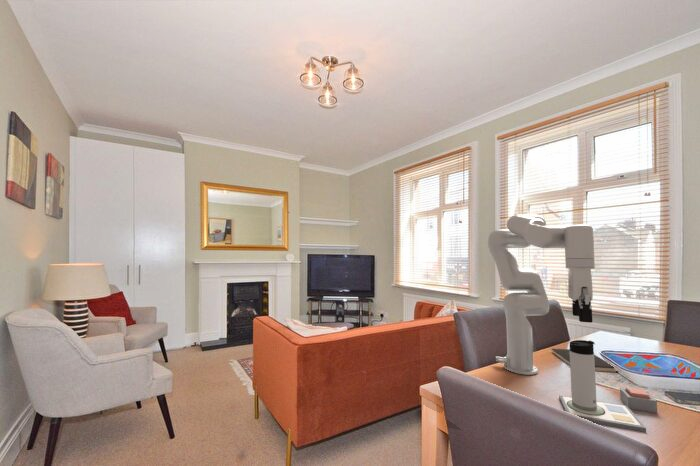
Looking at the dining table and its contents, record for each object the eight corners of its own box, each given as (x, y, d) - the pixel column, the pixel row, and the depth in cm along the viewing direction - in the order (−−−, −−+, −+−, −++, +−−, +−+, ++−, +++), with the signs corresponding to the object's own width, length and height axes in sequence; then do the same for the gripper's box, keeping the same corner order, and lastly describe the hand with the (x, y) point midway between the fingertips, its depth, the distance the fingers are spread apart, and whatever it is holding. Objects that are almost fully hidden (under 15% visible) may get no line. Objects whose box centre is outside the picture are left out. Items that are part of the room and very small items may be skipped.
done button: (631, 399, 102) (631, 392, 102) (626, 393, 106) (626, 387, 106) (649, 401, 100) (649, 395, 101) (643, 395, 104) (643, 389, 105)
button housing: (628, 408, 101) (627, 396, 102) (620, 398, 108) (619, 388, 108) (657, 412, 99) (656, 401, 99) (647, 402, 105) (646, 391, 105)
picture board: (568, 418, 96) (567, 413, 96) (559, 398, 109) (559, 394, 109) (646, 431, 88) (645, 427, 88) (626, 408, 101) (626, 404, 101)
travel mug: (602, 412, 96) (599, 344, 98) (577, 410, 98) (574, 343, 99) (591, 402, 102) (588, 338, 104) (568, 401, 104) (565, 337, 105)
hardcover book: (574, 370, 134) (574, 365, 134) (551, 353, 157) (551, 348, 157) (618, 373, 131) (618, 367, 131) (588, 355, 154) (588, 350, 154)
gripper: (561, 262, 112) (563, 312, 111) (570, 265, 96) (573, 323, 95) (587, 263, 108) (589, 314, 107) (602, 265, 93) (604, 326, 92)
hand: (582, 318), depth 101 cm, fingers open, 9 cm apart
